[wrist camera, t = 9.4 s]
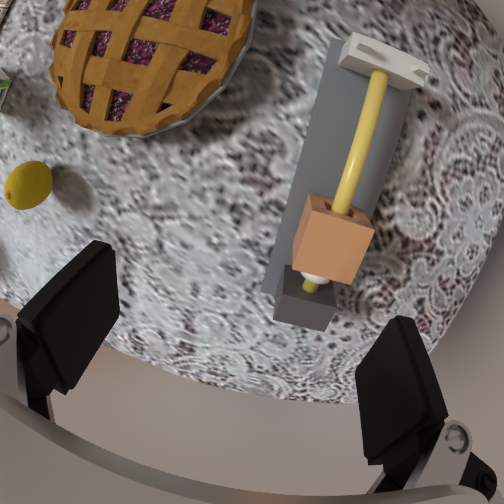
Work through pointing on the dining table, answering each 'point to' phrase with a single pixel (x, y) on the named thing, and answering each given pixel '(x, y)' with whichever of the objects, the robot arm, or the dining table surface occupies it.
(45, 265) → the dining table surface
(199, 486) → the robot arm
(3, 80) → the syrup box
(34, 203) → the lemon
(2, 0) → the newspaper
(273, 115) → the dining table surface
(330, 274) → the sleeve
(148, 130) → the pie
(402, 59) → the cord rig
